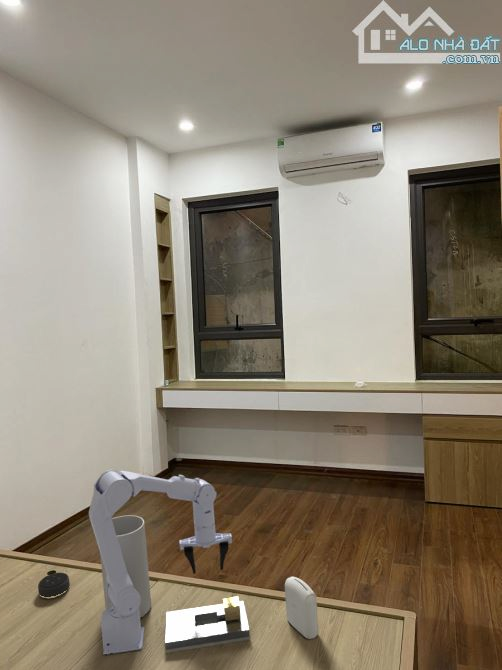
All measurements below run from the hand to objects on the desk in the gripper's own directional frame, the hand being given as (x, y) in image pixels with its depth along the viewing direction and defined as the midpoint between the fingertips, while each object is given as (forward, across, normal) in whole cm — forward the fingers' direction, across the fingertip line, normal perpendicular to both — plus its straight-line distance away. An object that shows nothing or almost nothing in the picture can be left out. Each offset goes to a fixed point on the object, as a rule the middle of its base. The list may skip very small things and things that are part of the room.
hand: (208, 569), depth 138 cm
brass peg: (+10, +5, -10) cm, 15 cm away
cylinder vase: (+11, -23, +3) cm, 26 cm away
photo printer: (+11, +23, -15) cm, 29 cm away
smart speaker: (+11, -47, +18) cm, 51 cm away
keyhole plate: (+10, -2, -10) cm, 15 cm away
